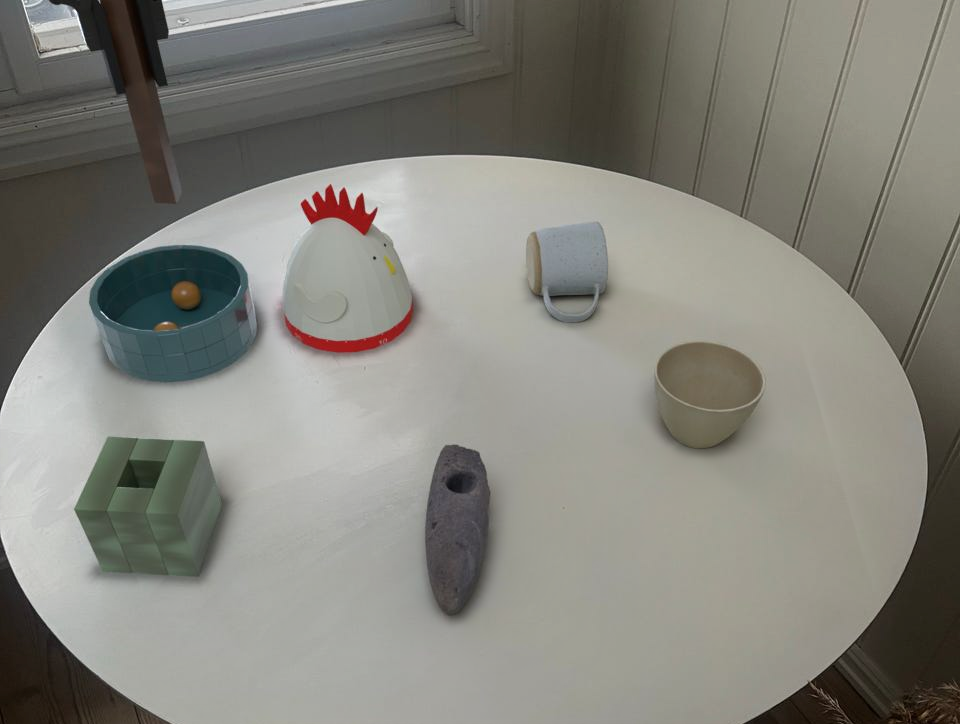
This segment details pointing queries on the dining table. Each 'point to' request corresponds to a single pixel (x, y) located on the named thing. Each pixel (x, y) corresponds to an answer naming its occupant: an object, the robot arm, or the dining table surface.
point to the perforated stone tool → (456, 525)
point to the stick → (143, 99)
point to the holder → (150, 506)
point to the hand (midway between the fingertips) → (138, 83)
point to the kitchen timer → (344, 279)
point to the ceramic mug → (568, 264)
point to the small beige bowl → (706, 391)
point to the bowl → (174, 313)
